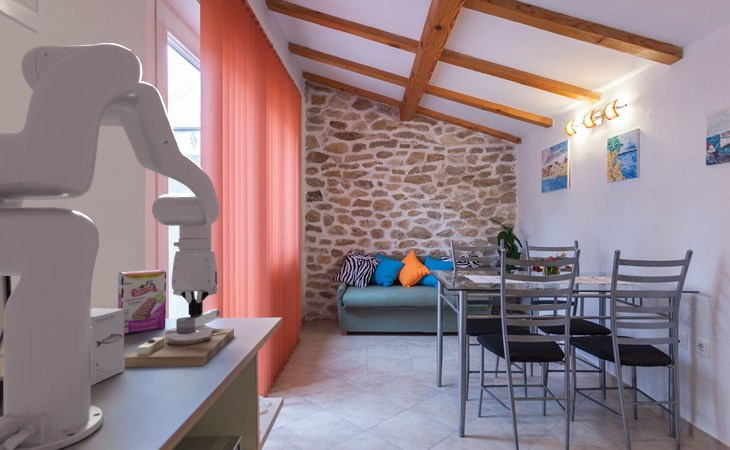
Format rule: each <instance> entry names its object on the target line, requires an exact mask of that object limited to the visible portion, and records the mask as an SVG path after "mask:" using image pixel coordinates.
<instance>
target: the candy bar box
mask: <svg viewBox="0 0 730 450" xmlns="http://www.w3.org/2000/svg"><path fill="white" fill-rule="evenodd" d="M117 276H118V278H117V281H118V283H117V309H124V336H125V335H130V334H136V333H143V332H145V333H146V332H150V331H156V330H163V329H166V313H167V311H166V306H167V305H166V304H167V301H166V300H167V299H166V298H167V296H166V294H167V271H166V270H163V269H153V270H150V269H149V270H137V271H136V270H135V271H121V272H118V275H117Z"/></svg>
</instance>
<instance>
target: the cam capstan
mask: <svg viewBox="0 0 730 450" xmlns="http://www.w3.org/2000/svg"><path fill="white" fill-rule="evenodd" d="M220 315H221V311H220V310H219V309H218V308H212V309H209V310H206V311H203V313H201V314H198V315H196V316H193V317H190V316H188V317H187V316H185V317H180V318H177V319H176V321H175V322H176V323H175V324H176V325H175V326H176V327H173V328H171V329H168V330H166V331H165V333H164V334H165V342H166V343H167V344H170V345H191V344H197V343H201V342H205V341H207V340H209V339H210V338H211V337H212V329H213V328H212V327H211V326H209V325H206V324H208V323H210V322H213V321H215V320H217V319H219V317H220Z"/></svg>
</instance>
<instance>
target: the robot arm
mask: <svg viewBox="0 0 730 450" xmlns="http://www.w3.org/2000/svg"><path fill="white" fill-rule="evenodd" d="M20 65H21V68H20V69H21V73H22V75H23V79H24V81H25V82H26V84H27V86H29V88H30V89H31V90H32V94H31V97H30V100H29V105H28V108H27V113H26V118H25V121H24V122H25V123H24V126H23V129H22V130H21V131H19V132H18V133H17V132H15V133H13V132H10V133H9V132H7V133H6V132H3V133H1V132H0V276H1V277H2V276H3V277H5V276H6V277H7V276H8V277H11V276H12V277H20V278H19V280H18V282H17V283H16V285H15V287H14V288H13V290H12V292H11V293H10V296H9V297H8V299H7V301H6V302H5V307H4V311H3V319H2V320H3V327H2V329H3V415H2V416H0V450H59V449H62V448H66V447H68V446H71V445H73V444H76V443H77V442H80V441H81V440H83V439H86V438H87V437H88V436H90V435H92V434H93V433H94V432H96V431H97V430H98V429H99V428H100V427H101V425H102V424H103V422H104V412H103V409H101V408H100V407H97V406H95V405H91V395H92V394H91V392H92V390H91V386H92V385H91V318H90V317H91V309H92V308H91V305H92V304H91V301H92V300H91V299H92V284H93V283H92V282H93V276H94V269H95V266H96V260H97V256H98V251H99V246H100V234H99V230H98V228H97V225H96V224H95V223H94V221H93V220H92V219H91V218H90V217H89V216H87V215H86V214H84V213H82V212H80V211H77V210H74V209H70V208H63V207H49V206H48V207H47V206H46V207H37V206H35V207H25V206H24V207H22V206H23V204H24V200H27V201H28V200H29V201H30V200H32V201H34V200H35V201H37V200H39V201H41V200H43V201H44V200H45V201H46V200H48V201H49V200H53V201H54V200H69V199H75V198H78V197H79V198H80V197H81V196H84V195H85V194H86V193H87V192H88V191H90V189H91V187H92V184H93V182H94V181H93V180H94V176H95V170H96V160H97V153H98V145H99V144H98V143H99V136H100V135H99V134H100V127H104V126H107V127H108V126H110V127H111V126H112V127H113V126H114V127H115V126H118V127H122V129H123V130H124V132H125V135H126V138H127V139H128V141H129V143H130V144H129V145H130V146H131V149H132V151H133V153H134V155H135V157H136V160H137V162H138V164H139V165H141V166H142V167H143V168H144V169H147V170H149V171H152V172H155V173H157V174H159V175H161V176H164V177H168V178H169V179H172V180H175V181H176V182H179V184H182V185H184V186H185V187H186V188H188V189H189V190H190V191H191V192H192V193H168V194H167V193H166V194H163V195H159V196H158V197H157V198H156V199H155V200H154V202H153V203H152V204H151V205H152V206H151V212H152V216H153V218H154V220H156V221H157V222H158V223H159V224H161V225H164V226H170V227H175V226H176V227H177V226H178V228H179V229H178V230H179V232H178V233H179V238H178V239H177V240H174V241H173V246H174V247H178V250H177V251H175V254H174V258H173V265H172V273H171V288H172V290H173V291H172V293H173V295H175V296H180V297H182V298H183V299H184V300H185V301H186V303H187V304H188V315H189V317H193V316H196V315H198V314H201V313H204V311H203V306H204V305H203V304H204V303H203V302H204V301H205V299H207V297H209V296H212V295H216V294H218V292H219V290H218V279H219V278H218V265H217V258H216V253H215V250H212V225H214V223H215V222H216V221H217V220H218V219H219V215H220V205H219V200H218V196H217V193H216V190H215V186H214V184H213V181H212V179H211V178H210V176H209V174H208V173H207V172H206V171H205V170H204V169H203V168H201V166H200V165H199V163H197V162H195V161H194V160H192V158H190V157H189V156H187V155H186V154H184V153H183V152H182V151H181V148H180V146H179V143H178V141H177V138H176V135H175V134H176V133H175V132H174V129H173V125H172V123H171V121H170V117H169V115H168V112H167V109H166V106H165V103H164V100H163V98H162V95H161V94H160V91H159V90H158V89H157V87H155V86H154V85H152V84H150V83H149V82H145V81H141V80H142V76H143V68H142V63H141V60H140V58H139V57H138V56H137V54H136V53H135V52H133V51H132V50H131V49H129V48H127V47H125V46H122V45H120V44H117V43H108V42H107V43H105V42H104V43H97V44H81V45H80V44H78V45H44V46H43V45H42V46H36V47H34V48H32V49H30V50H28V51H27V52H25V54H24V56H23V57H22V59H21V63H20ZM195 292H196V293H197V294H196V296H195Z"/></svg>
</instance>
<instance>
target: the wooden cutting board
mask: <svg viewBox="0 0 730 450" xmlns="http://www.w3.org/2000/svg"><path fill="white" fill-rule="evenodd" d="M233 336H234V337H235V329H234V328H212V337H211V338H210V339H209V340H207V341H205V342H201V343H197V344H191V345H170V344H167V343H166V342H165V333H163V334H161V335H159V336H158V337H152V338H150V339H148V341H146V342H144V343H142V344H141V345H139V346H137V348H136V350H134V351H133V352H131V353H130V354H128V355H127V356H124V368H153V367H156V368H161V367H163V368H164V367H165V368H166V367H169V368H170V367H205V365H206V364H207V363H209V362H210V360H211V359H212V358H213V357H215V355H217V353H218V352H219V351H221V350H222V348H224V346H226V344H228V343H229V342H230V341H231V340H232V339H233V338H234V337H233Z"/></svg>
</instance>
